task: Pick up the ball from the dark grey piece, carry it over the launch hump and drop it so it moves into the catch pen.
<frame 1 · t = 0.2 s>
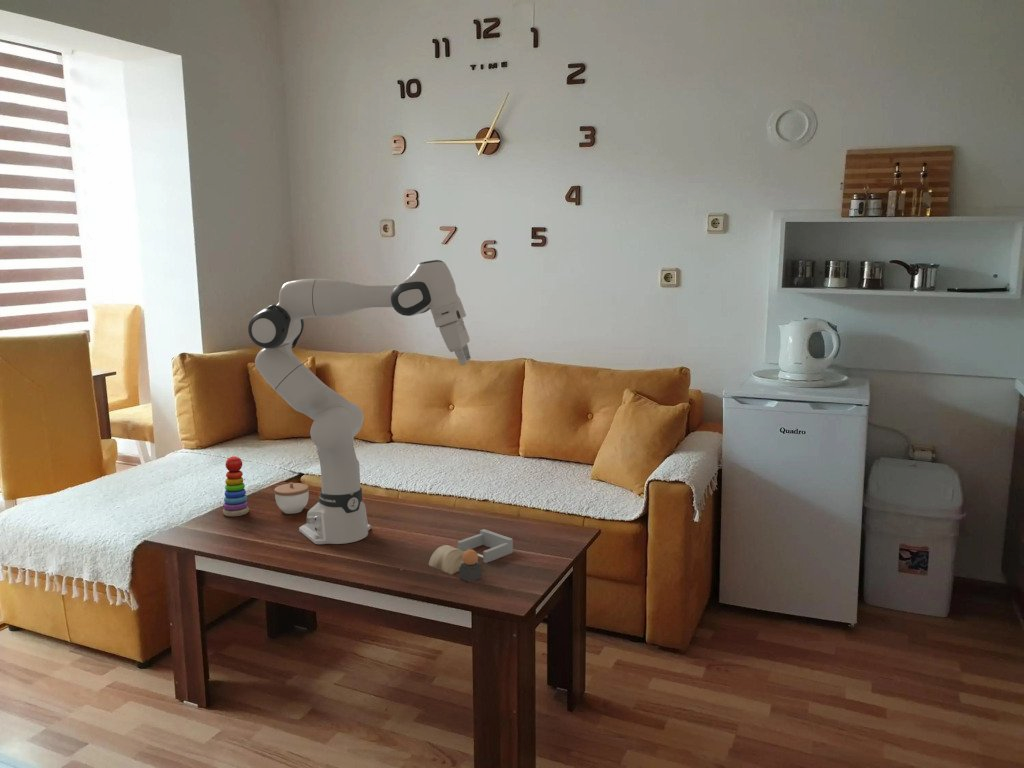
hand: (466, 362, 222), 52 cm above the table, fingers open, 8 cm apart
dark grey piece: (470, 577, 203), on the table
stacking toy: (236, 514, 255), on the table
line: (478, 554, 218), on the table
catch pen: (486, 551, 220), on the table
lidded jar: (292, 511, 257), on the table
ball: (470, 557, 202), point 6 cm above the table, touching dark grey piece
launch hump: (453, 564, 212), on the table
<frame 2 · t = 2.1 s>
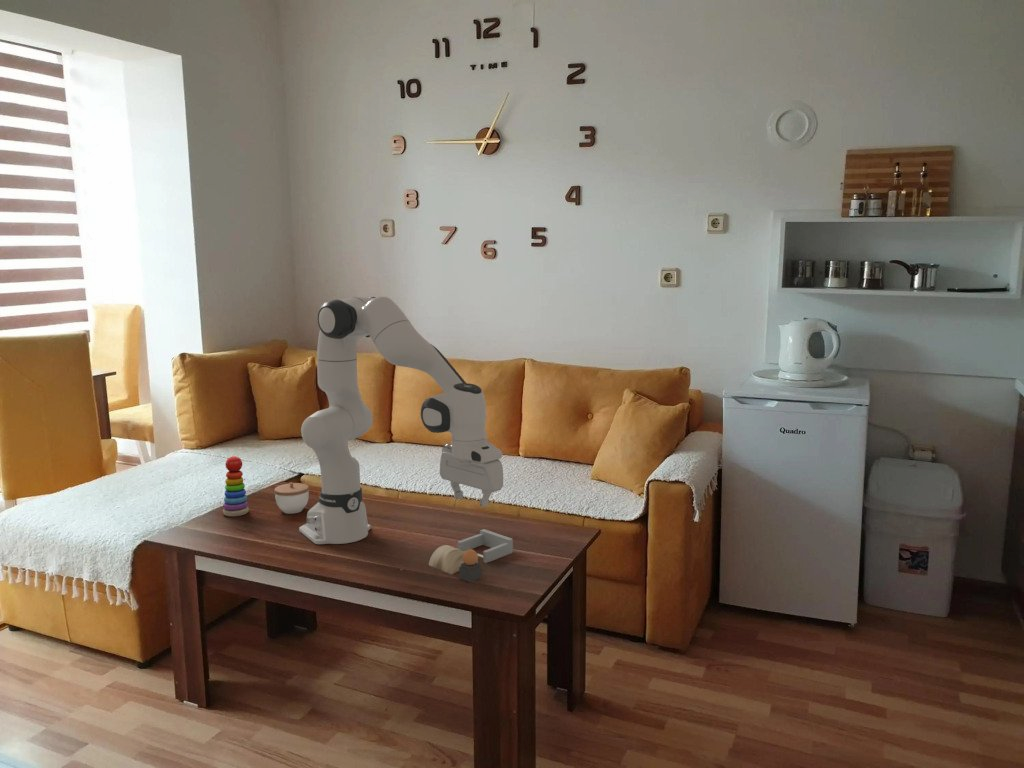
hand: (471, 502, 200), 20 cm above the table, fingers open, 8 cm apart
nothing on the table moved.
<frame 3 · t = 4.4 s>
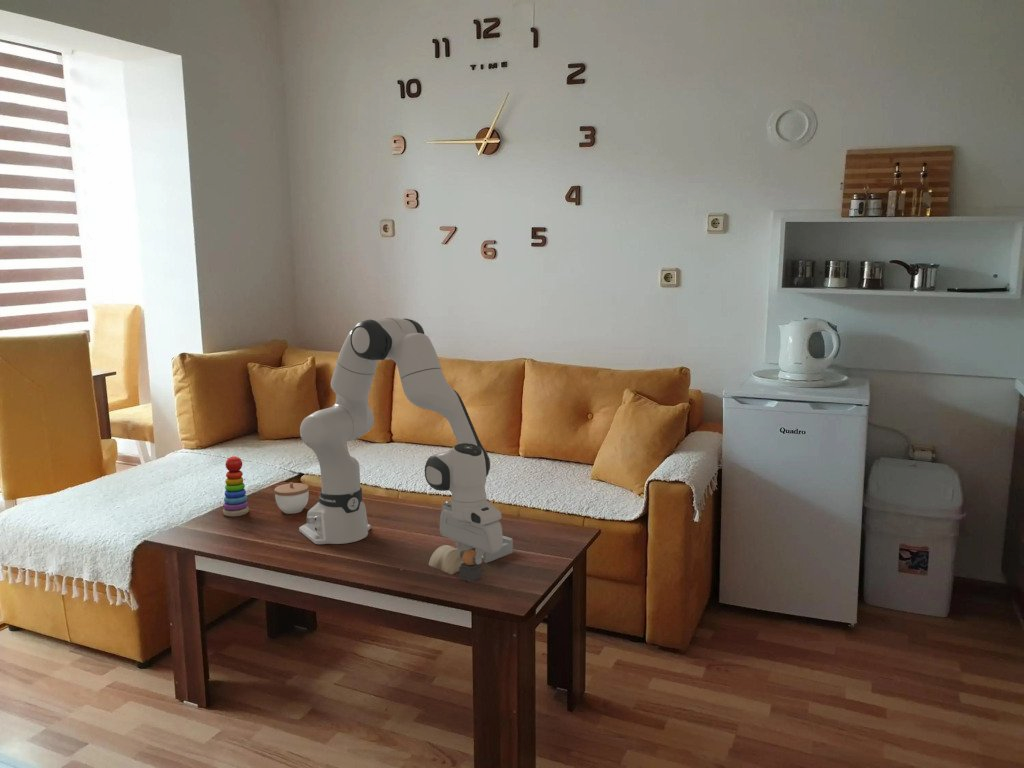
hand: (470, 560, 202), 5 cm above the table, fingers closed on ball, 4 cm apart
ball: (470, 557, 202), point 6 cm above the table, touching gripper, dark grey piece
everything else where it was.
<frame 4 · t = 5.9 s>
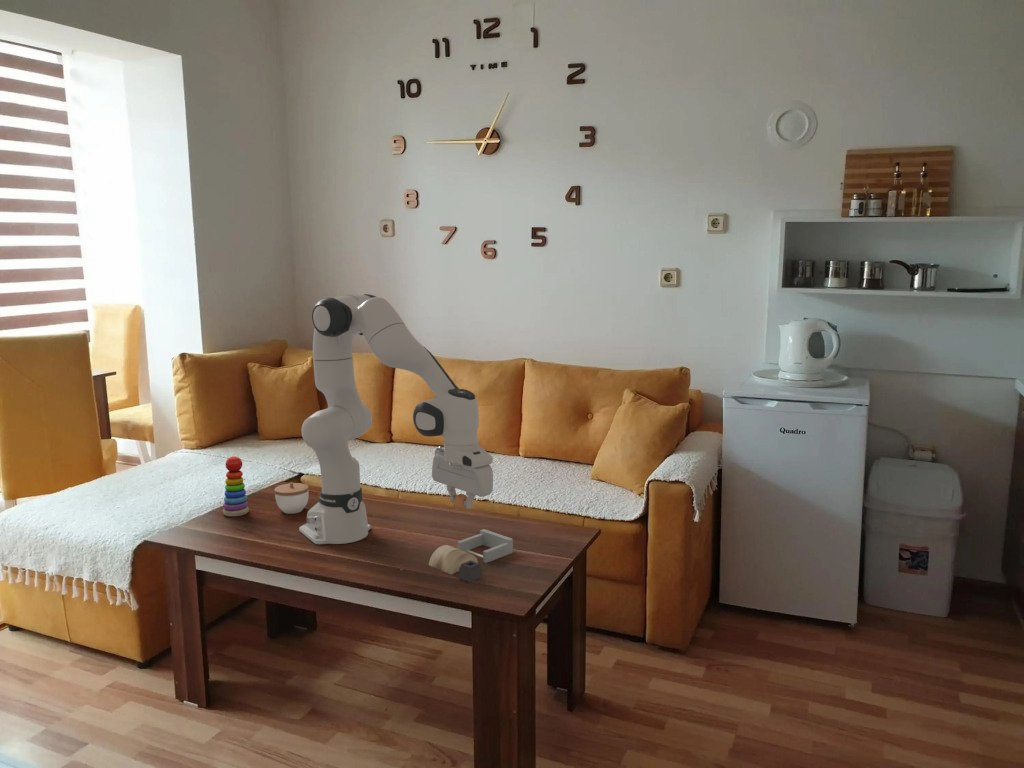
hand: (461, 504, 204), 18 cm above the table, fingers closed on ball, 4 cm apart
ball: (461, 501, 204), point 19 cm above the table, touching gripper
everything else where it was.
when the fingers open (7 cm above the table, at t = 7.7 s): ball drops 5 cm, point 2 cm above the table.
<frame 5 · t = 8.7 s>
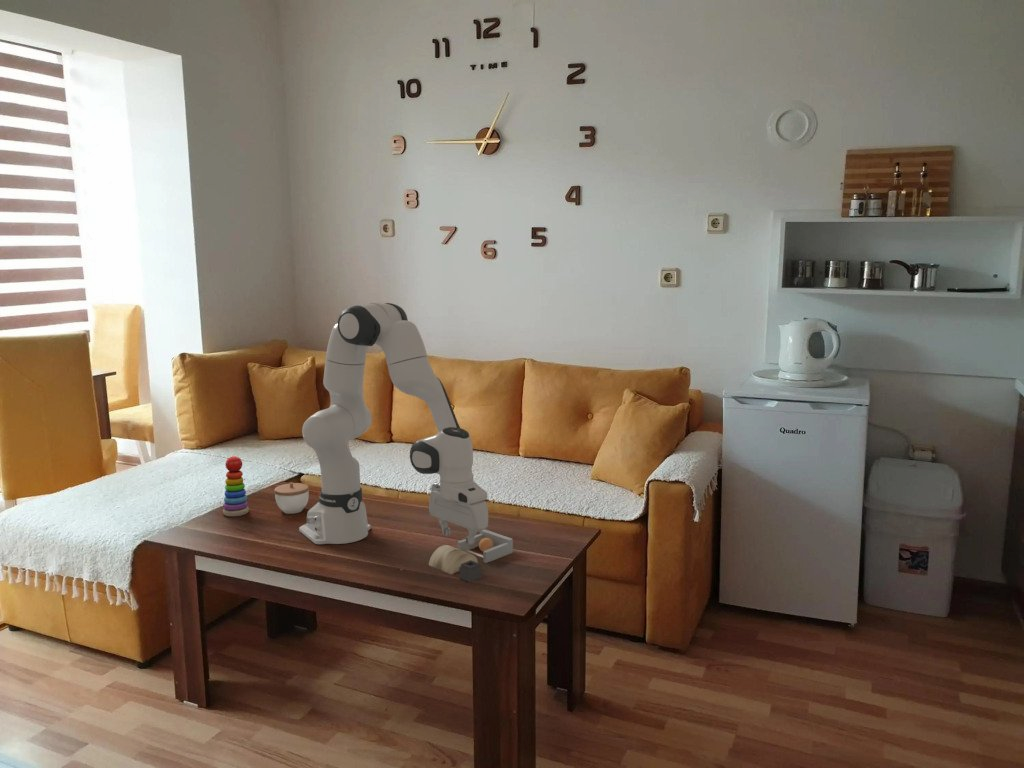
hand: (458, 538, 212), 7 cm above the table, fingers open, 8 cm apart
ball: (486, 545, 220), point 2 cm above the table
everything else where it was.
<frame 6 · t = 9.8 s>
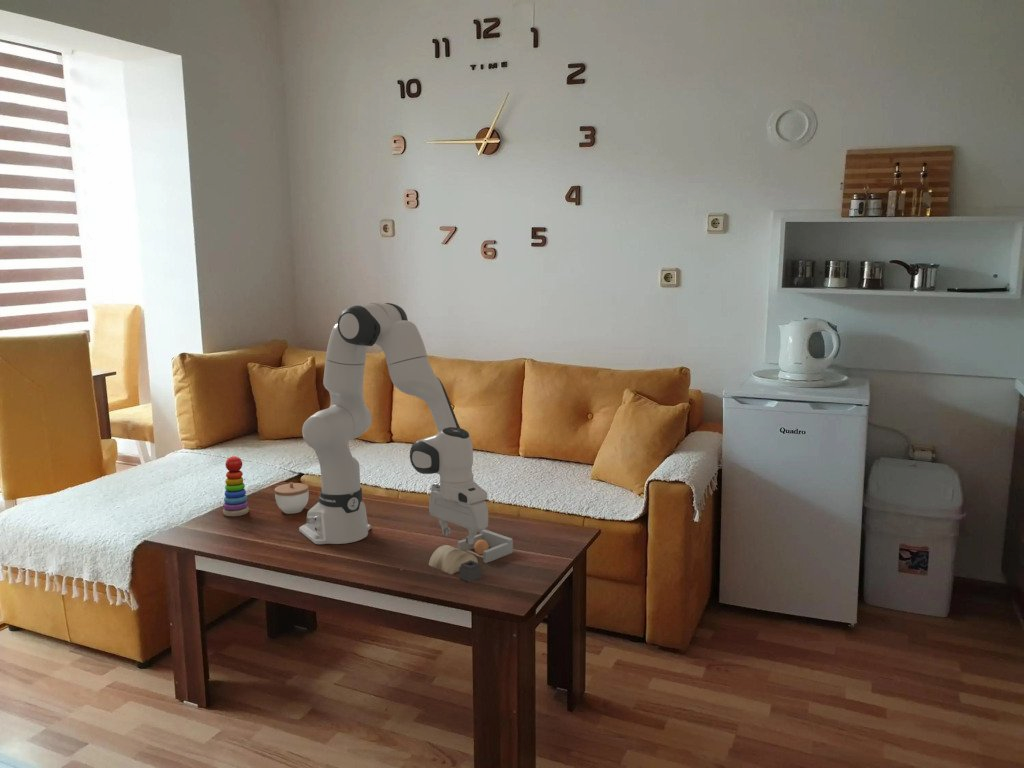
hand: (458, 538, 212), 7 cm above the table, fingers open, 8 cm apart
ball: (481, 547, 218), point 2 cm above the table, tilted 53°
everything else where it was.
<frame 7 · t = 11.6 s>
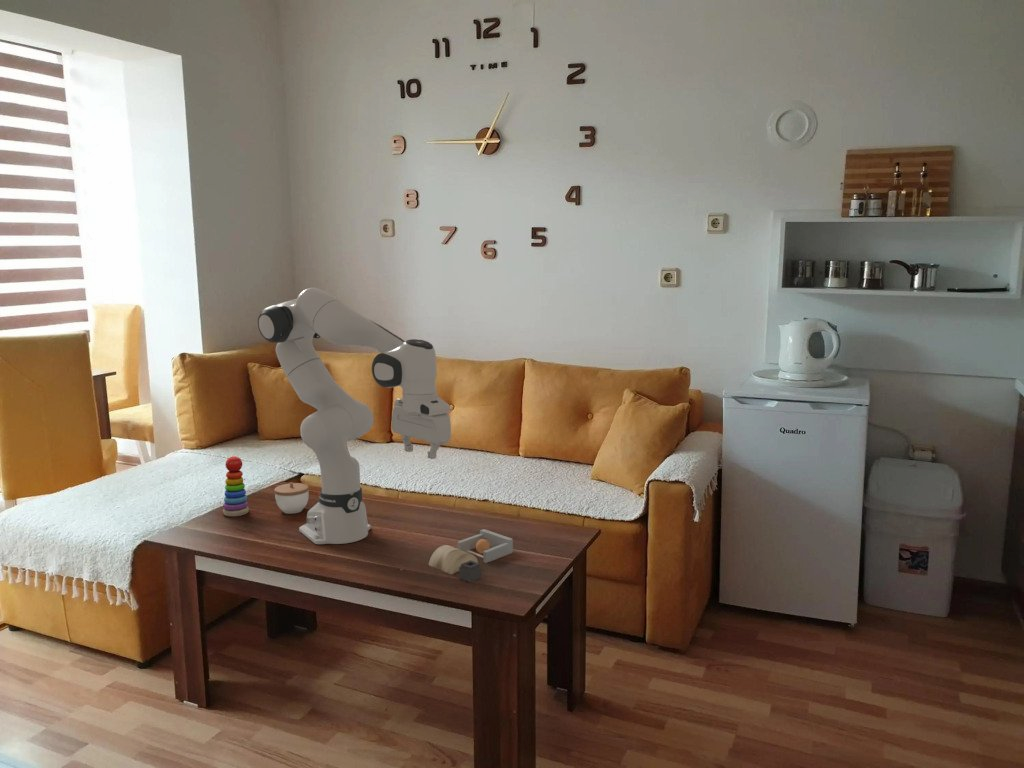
hand: (420, 454, 207), 30 cm above the table, fingers open, 8 cm apart
ball: (482, 546, 219), point 2 cm above the table, tilted 36°
everything else where it was.
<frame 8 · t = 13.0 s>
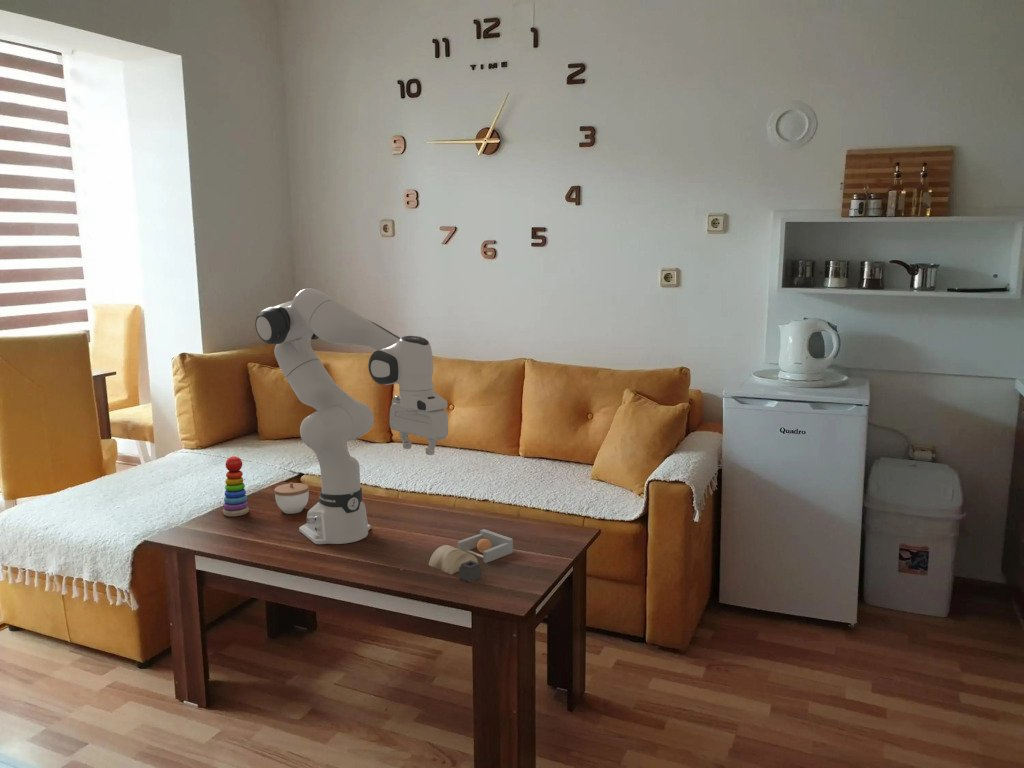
hand: (418, 451, 206), 31 cm above the table, fingers open, 8 cm apart
ball: (484, 545, 219), point 2 cm above the table, tilted 23°
everything else where it was.
at the end: ball inside the target area (2.3 cm from its centre), point 2.0 cm above the table; the gripper is holding nothing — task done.
